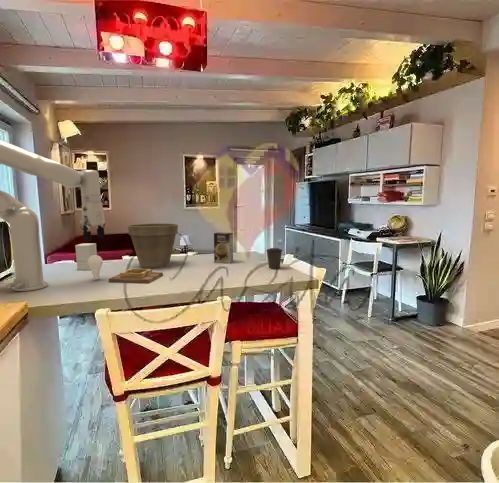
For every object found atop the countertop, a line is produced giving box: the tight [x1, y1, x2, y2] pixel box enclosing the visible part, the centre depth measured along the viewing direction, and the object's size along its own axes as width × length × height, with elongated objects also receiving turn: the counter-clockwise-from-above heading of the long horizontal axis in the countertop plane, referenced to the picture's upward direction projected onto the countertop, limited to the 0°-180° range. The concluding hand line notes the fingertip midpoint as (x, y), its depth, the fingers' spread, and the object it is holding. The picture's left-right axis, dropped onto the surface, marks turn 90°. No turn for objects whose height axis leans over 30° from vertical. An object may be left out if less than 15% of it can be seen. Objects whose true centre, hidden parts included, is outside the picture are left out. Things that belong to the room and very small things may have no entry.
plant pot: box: [127, 222, 179, 269], centre depth 188 cm, size 25×25×22 cm
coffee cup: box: [266, 247, 283, 270], centre depth 178 cm, size 8×8×10 cm
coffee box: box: [213, 232, 234, 264], centre depth 195 cm, size 9×6×16 cm
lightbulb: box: [88, 254, 104, 281], centre depth 157 cm, size 6×6×11 cm
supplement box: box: [74, 242, 98, 271], centre depth 182 cm, size 7×7×13 cm
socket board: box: [108, 268, 164, 284], centre depth 159 cm, size 15×18×4 cm
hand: (94, 239), depth 156 cm, fingers open, 9 cm apart
